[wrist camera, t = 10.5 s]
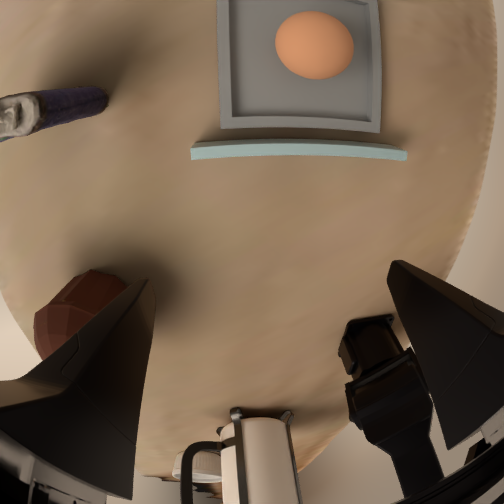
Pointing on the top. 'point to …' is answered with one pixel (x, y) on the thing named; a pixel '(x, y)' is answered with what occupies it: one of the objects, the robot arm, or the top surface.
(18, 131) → the flask
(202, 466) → the ramekin
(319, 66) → the ball
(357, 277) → the top surface
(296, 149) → the acrylic walls
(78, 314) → the muffin
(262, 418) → the coffee press
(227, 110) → the dish
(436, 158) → the top surface
